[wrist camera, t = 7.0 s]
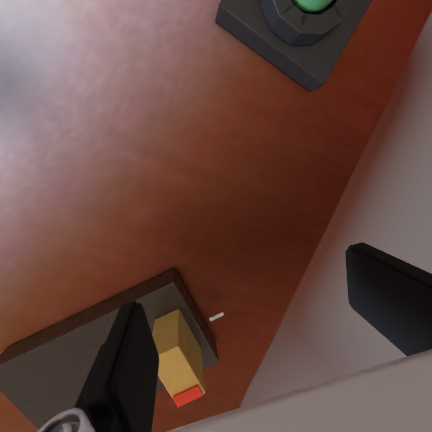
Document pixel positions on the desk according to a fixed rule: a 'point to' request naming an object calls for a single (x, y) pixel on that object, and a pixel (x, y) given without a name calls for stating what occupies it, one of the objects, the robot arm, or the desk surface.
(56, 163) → the desk surface
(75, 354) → the plate
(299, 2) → the button
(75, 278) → the desk surface
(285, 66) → the button box
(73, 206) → the desk surface
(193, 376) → the block
